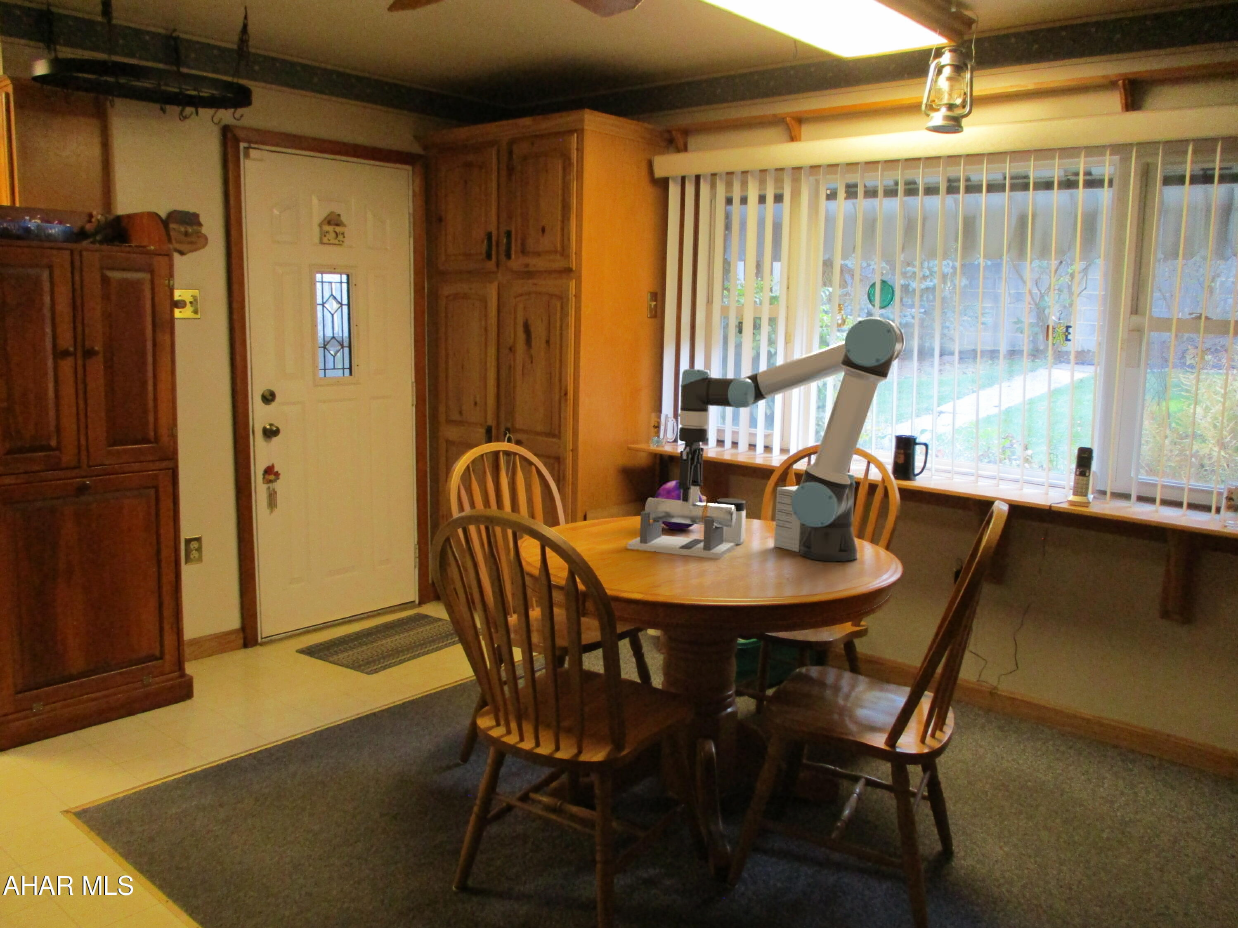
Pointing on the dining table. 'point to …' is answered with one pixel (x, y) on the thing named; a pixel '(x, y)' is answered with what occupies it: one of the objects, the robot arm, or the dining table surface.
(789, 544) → the supplement box
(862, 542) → the dining table surface
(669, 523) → the decorative orb
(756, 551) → the dining table surface
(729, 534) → the jar
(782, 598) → the dining table surface
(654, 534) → the cradle stand
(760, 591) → the dining table surface
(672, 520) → the steel tube
